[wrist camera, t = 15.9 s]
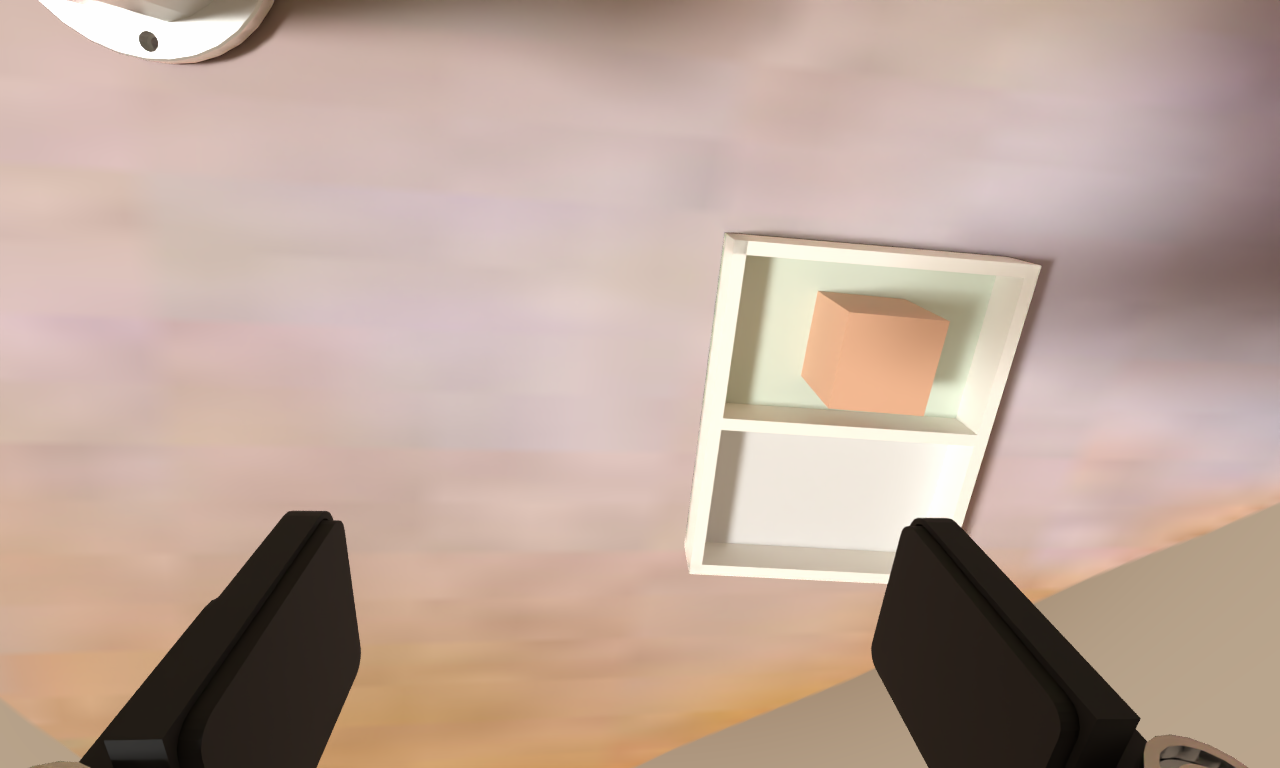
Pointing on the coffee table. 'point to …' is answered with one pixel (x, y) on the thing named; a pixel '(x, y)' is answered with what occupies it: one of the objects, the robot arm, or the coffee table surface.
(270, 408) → the coffee table surface
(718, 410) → the sorting box
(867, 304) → the plain light orange cube
